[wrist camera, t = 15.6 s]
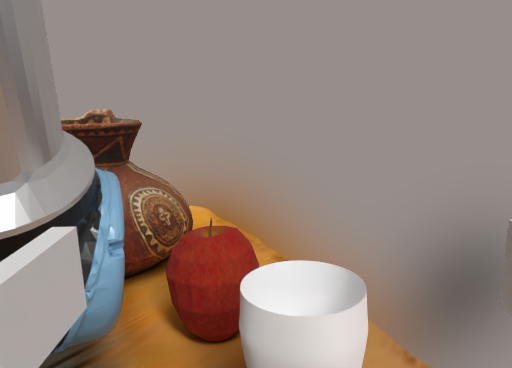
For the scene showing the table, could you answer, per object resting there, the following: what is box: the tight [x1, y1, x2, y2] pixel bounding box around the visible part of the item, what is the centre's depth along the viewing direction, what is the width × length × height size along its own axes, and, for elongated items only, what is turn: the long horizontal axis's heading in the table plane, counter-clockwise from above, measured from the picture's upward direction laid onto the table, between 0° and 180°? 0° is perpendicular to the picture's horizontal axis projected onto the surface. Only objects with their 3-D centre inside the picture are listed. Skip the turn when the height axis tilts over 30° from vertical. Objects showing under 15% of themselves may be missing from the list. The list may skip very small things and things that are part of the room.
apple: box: [166, 219, 259, 342], centre depth 49 cm, size 10×10×14 cm
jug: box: [61, 109, 193, 278], centre depth 70 cm, size 30×30×25 cm
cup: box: [239, 261, 368, 368], centre depth 31 cm, size 9×9×12 cm
